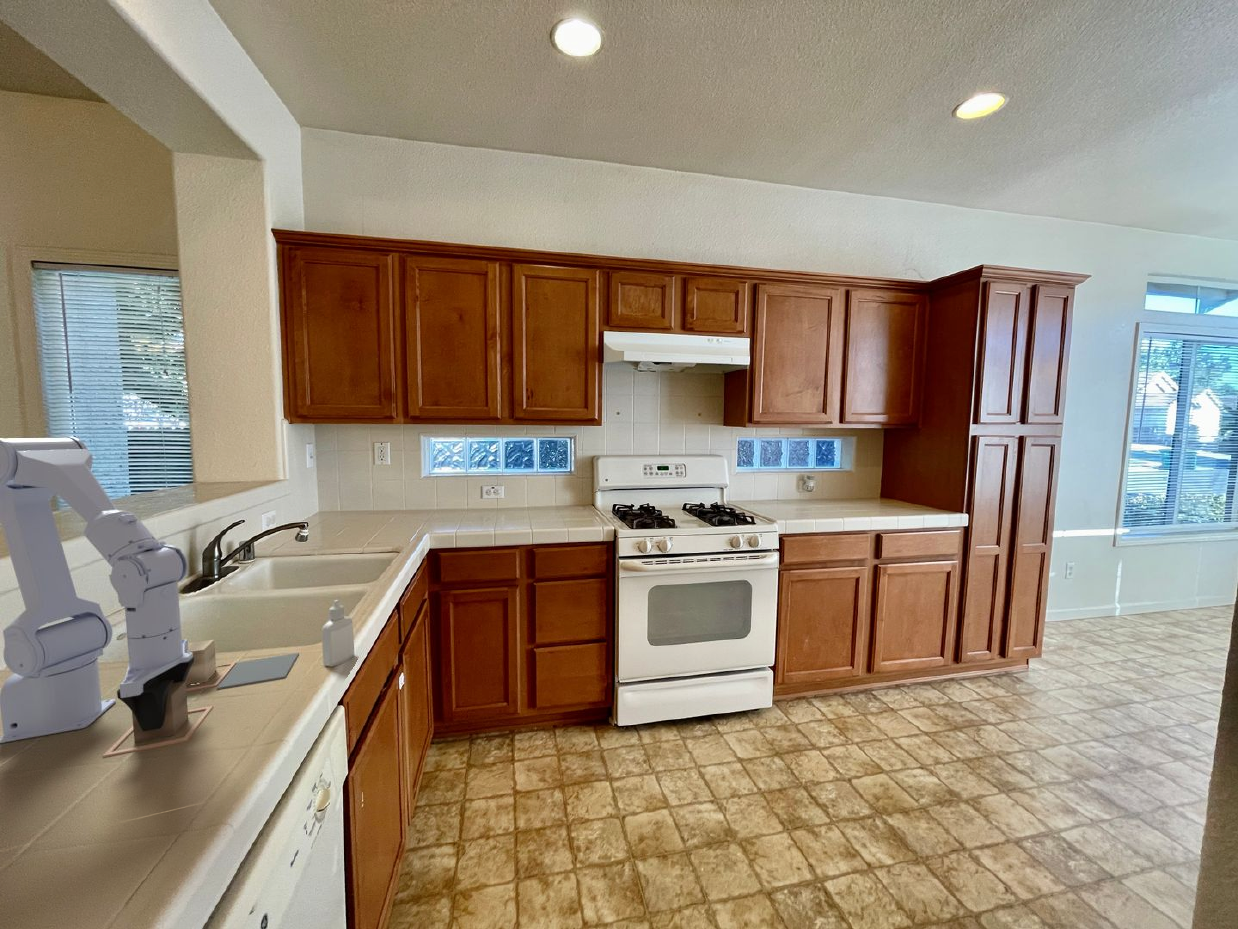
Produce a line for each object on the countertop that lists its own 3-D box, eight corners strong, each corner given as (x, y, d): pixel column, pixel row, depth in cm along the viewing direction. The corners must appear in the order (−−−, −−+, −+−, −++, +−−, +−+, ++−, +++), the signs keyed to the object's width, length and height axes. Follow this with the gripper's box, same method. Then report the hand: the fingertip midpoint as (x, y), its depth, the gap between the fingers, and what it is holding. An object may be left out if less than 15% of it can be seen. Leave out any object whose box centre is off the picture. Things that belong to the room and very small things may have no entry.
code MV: (149, 697, 81) (149, 696, 81) (176, 672, 89) (175, 671, 89) (217, 686, 84) (217, 685, 84) (236, 663, 93) (236, 661, 93)
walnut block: (134, 742, 69) (131, 702, 69) (151, 725, 73) (148, 687, 73) (174, 735, 71) (171, 695, 70) (188, 718, 75) (185, 681, 74)
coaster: (216, 690, 83) (216, 687, 83) (237, 664, 92) (237, 662, 92) (285, 678, 87) (285, 676, 87) (298, 654, 96) (298, 653, 96)
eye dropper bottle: (358, 659, 94) (355, 599, 93) (325, 669, 90) (322, 607, 89) (352, 652, 97) (349, 594, 96) (320, 661, 93) (316, 601, 92)
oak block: (174, 687, 84) (171, 654, 84) (186, 675, 88) (183, 643, 88) (206, 682, 86) (203, 649, 85) (216, 670, 90) (214, 639, 89)
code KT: (102, 758, 66) (102, 755, 66) (139, 720, 74) (139, 719, 74) (187, 741, 69) (187, 739, 69) (213, 707, 78) (213, 705, 78)
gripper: (164, 646, 66) (172, 741, 67) (208, 610, 79) (214, 689, 80) (95, 655, 63) (104, 754, 64) (153, 616, 76) (160, 698, 77)
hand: (161, 719), depth 72 cm, fingers closed on walnut block, 4 cm apart
